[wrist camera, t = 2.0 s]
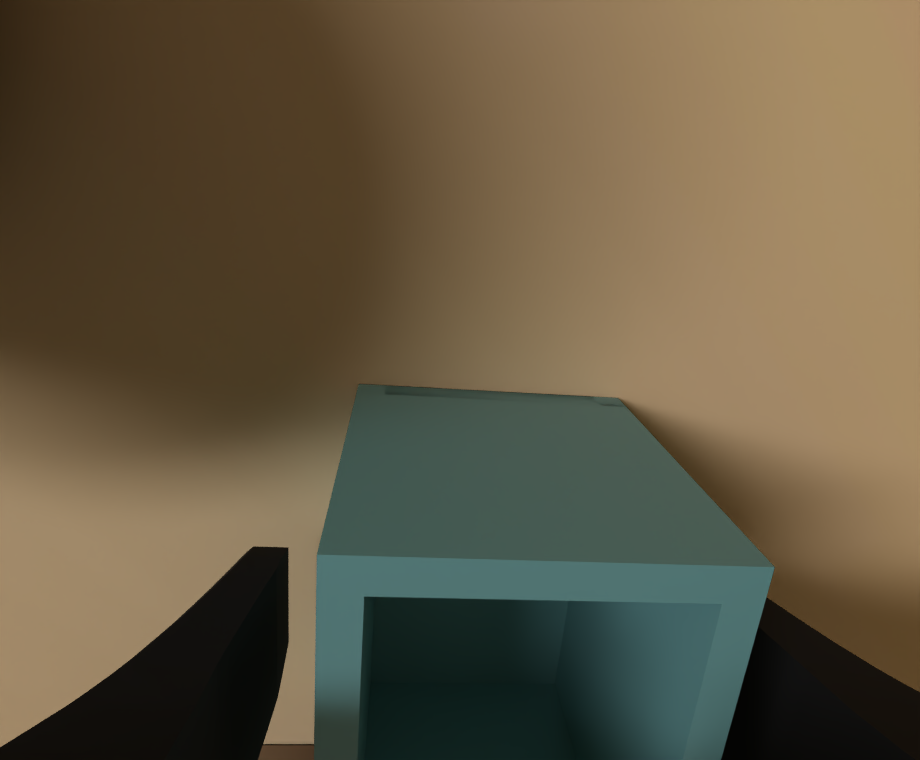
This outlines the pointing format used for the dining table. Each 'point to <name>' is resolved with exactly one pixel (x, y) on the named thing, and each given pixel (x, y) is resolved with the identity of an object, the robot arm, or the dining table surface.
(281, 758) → the walnut crate
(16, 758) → the robot arm
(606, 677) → the teal crate
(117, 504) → the dining table surface
